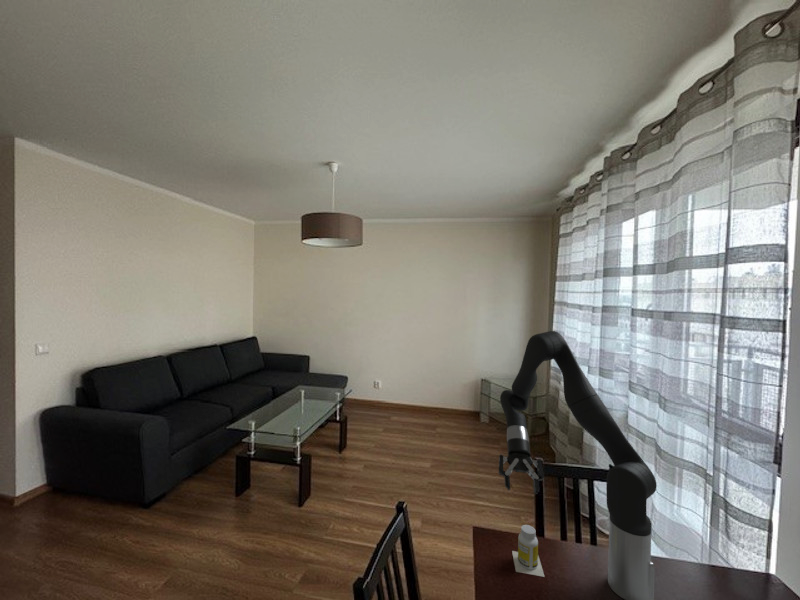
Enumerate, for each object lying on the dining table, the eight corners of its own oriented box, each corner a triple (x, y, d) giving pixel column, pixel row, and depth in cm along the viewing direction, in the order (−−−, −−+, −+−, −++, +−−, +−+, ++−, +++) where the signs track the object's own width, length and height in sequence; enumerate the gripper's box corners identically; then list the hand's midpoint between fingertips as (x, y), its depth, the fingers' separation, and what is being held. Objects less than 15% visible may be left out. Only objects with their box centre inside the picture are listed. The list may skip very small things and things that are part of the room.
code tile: (538, 556, 99) (538, 555, 99) (544, 577, 91) (544, 576, 91) (511, 551, 100) (511, 550, 100) (516, 572, 92) (516, 571, 92)
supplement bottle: (534, 557, 98) (535, 524, 98) (540, 571, 93) (541, 536, 93) (515, 555, 99) (516, 522, 99) (520, 569, 93) (521, 534, 93)
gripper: (498, 434, 117) (500, 484, 106) (540, 439, 114) (548, 490, 103) (496, 443, 122) (498, 491, 111) (537, 448, 119) (543, 498, 108)
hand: (522, 491), depth 107 cm, fingers open, 8 cm apart
